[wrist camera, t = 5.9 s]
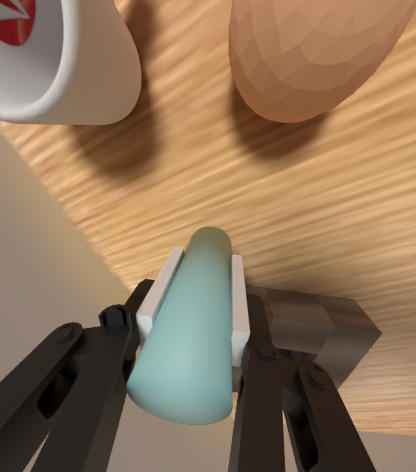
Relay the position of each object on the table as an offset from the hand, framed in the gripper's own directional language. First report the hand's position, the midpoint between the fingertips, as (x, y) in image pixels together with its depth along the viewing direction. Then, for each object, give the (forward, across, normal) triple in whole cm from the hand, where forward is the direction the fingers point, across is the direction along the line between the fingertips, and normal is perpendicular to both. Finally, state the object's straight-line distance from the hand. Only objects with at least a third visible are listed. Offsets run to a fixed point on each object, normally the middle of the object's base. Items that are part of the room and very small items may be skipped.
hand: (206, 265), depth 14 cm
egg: (+5, +4, +14) cm, 15 cm away
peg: (+3, 0, 0) cm, 3 cm away
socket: (+4, +10, -12) cm, 16 cm away
